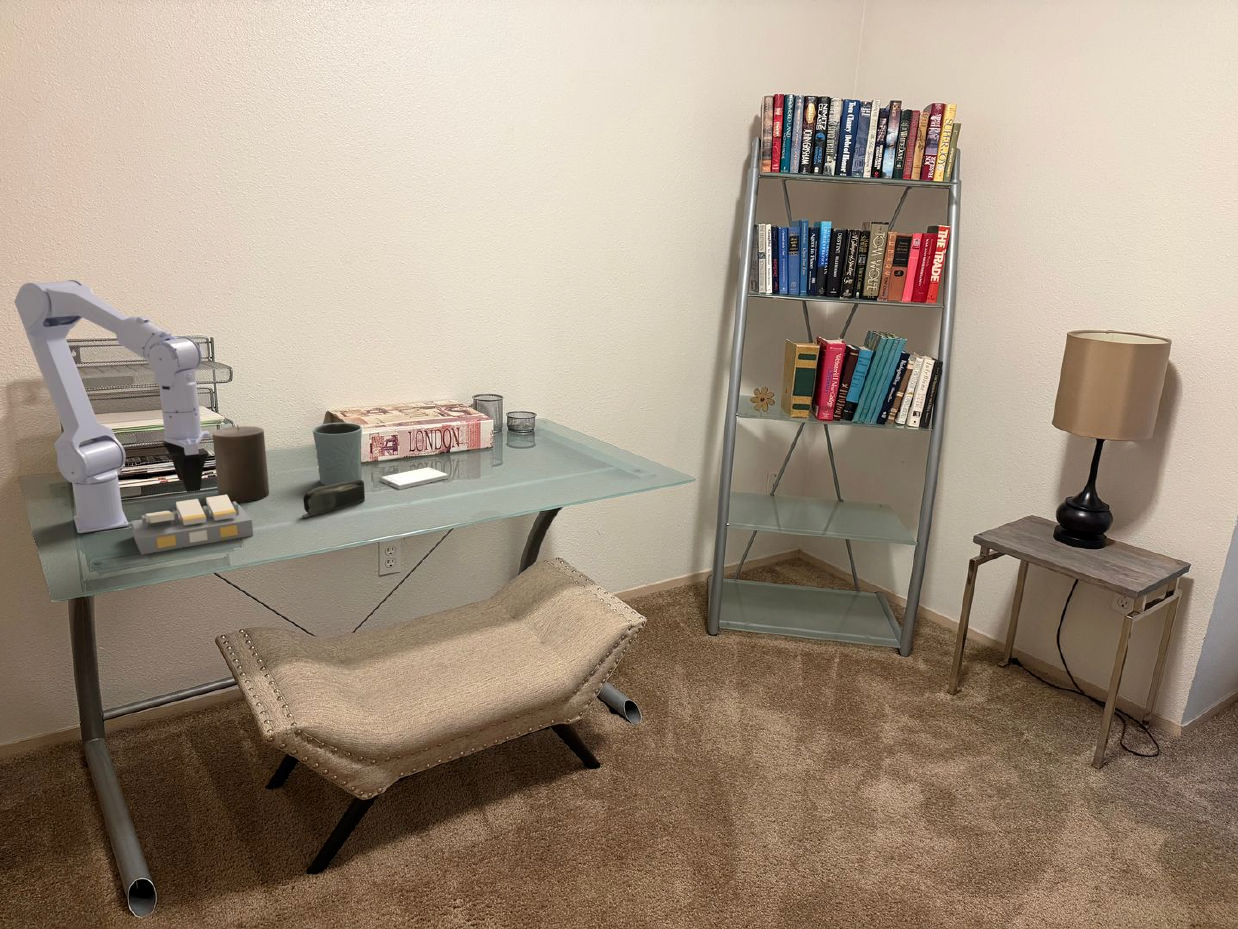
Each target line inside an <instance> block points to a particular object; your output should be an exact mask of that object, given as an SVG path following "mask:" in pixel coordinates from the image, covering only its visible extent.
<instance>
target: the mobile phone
mask: <svg viewBox="0 0 1238 929" xmlns="http://www.w3.org/2000/svg"><path fill="white" fill-rule="evenodd" d="M365 491H366V490H365V482H364V480H362V479H361V480H353V481H348V482H342V483H338V484H333V485H328V486H326V485H323V486H319V487H315V488H313V489H311V490H310V491H307V492H306V493H305V494H304V495H303V499H302V500H303V508H304V510H305V512H306V514H303V515H302V516H301V518H302V519H307V518H310V517H314V516H318V515H321V514H325V513H328V512H332V511H335V510H339V509H344V508H347V507H350V506H355V505H358V504H361V503H364V501H365V500H366V498H365V496H366V492H365Z"/></svg>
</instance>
